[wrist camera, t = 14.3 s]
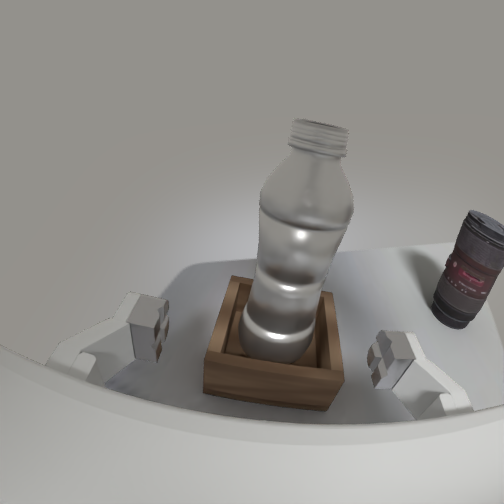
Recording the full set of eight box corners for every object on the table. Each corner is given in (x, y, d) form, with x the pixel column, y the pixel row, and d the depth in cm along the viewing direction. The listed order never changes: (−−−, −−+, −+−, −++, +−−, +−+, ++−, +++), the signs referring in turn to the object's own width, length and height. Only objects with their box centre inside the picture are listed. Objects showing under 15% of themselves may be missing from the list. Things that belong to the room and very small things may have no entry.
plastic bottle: (231, 327, 29) (259, 111, 20) (295, 324, 31) (344, 126, 21) (240, 378, 24) (285, 120, 14) (314, 372, 25) (391, 142, 16)
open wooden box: (326, 411, 22) (344, 380, 20) (203, 392, 23) (204, 359, 21) (321, 324, 33) (332, 292, 30) (227, 309, 33) (231, 275, 31)
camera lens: (439, 333, 33) (490, 230, 25) (419, 296, 40) (457, 204, 33) (478, 334, 33) (526, 242, 25) (457, 301, 40) (494, 216, 33)
